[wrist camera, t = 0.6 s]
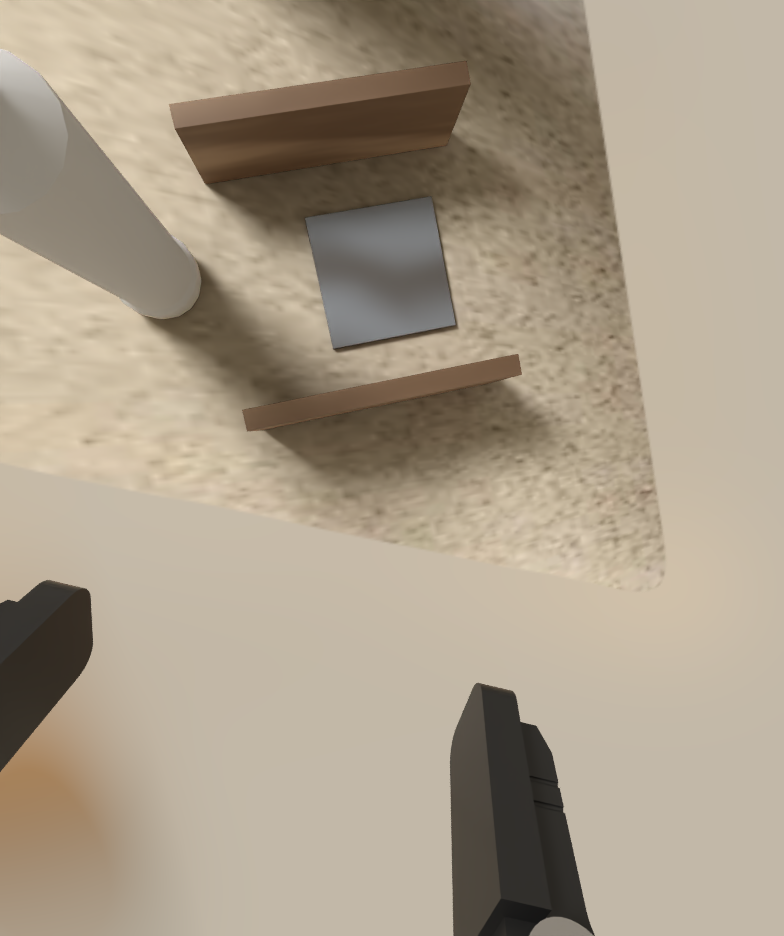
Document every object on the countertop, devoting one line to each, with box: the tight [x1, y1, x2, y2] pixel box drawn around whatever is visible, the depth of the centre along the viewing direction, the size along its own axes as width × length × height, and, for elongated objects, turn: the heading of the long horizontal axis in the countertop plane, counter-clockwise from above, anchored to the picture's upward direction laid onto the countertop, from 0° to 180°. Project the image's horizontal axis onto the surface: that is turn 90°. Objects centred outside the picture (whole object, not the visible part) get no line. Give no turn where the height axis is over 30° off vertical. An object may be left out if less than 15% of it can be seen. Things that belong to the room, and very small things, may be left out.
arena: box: [169, 61, 522, 431], centre depth 30 cm, size 17×16×6 cm
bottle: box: [0, 49, 202, 319], centre depth 19 cm, size 5×5×25 cm
